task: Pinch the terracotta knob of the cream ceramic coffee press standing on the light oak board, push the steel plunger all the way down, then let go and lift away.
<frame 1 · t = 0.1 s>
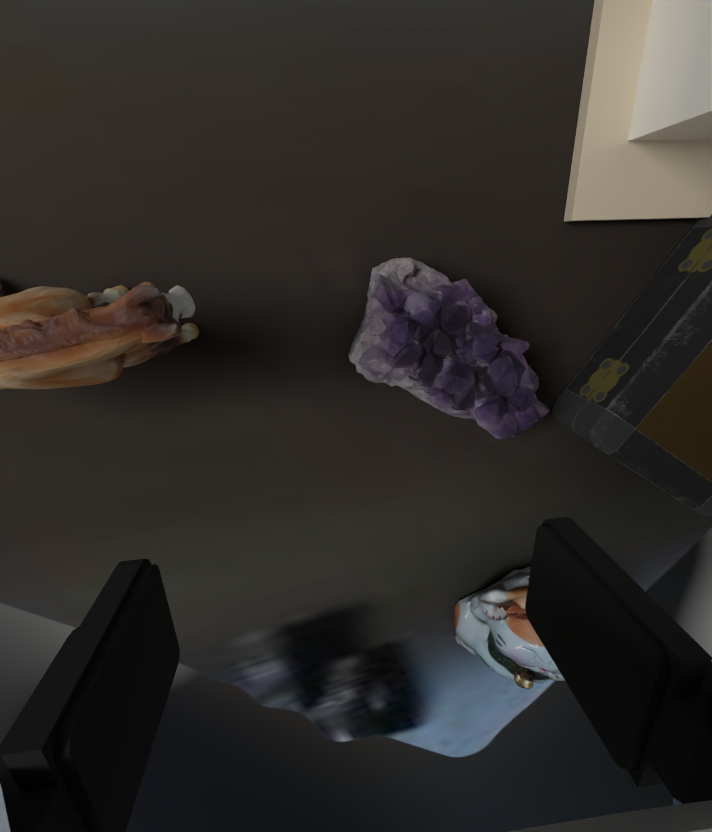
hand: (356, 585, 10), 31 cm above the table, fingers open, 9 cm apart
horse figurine: (51, 273, 35), on the table
coffee press: (685, 74, 35), on the table
lucky cat figurine: (502, 594, 54), on the table
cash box: (680, 361, 45), on the table, touching coffee press
geode: (439, 346, 41), on the table
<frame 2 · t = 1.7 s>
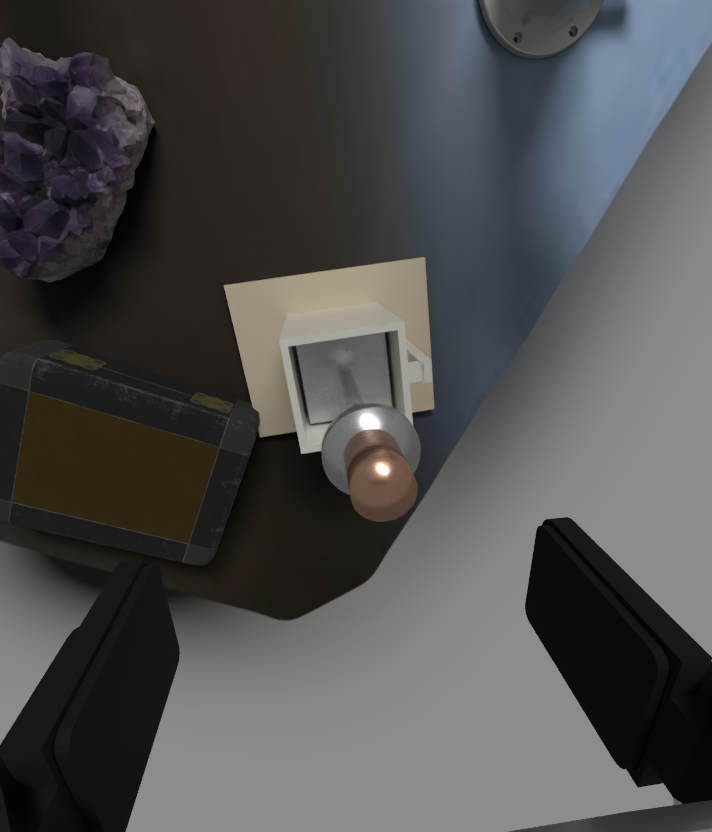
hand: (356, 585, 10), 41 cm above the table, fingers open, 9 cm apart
plunger: (358, 414, 29), point 22 cm above the table, slide at 0.0 cm
coffee press: (337, 350, 49), on the table
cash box: (142, 445, 51), on the table, touching coffee press
geode: (85, 184, 41), on the table
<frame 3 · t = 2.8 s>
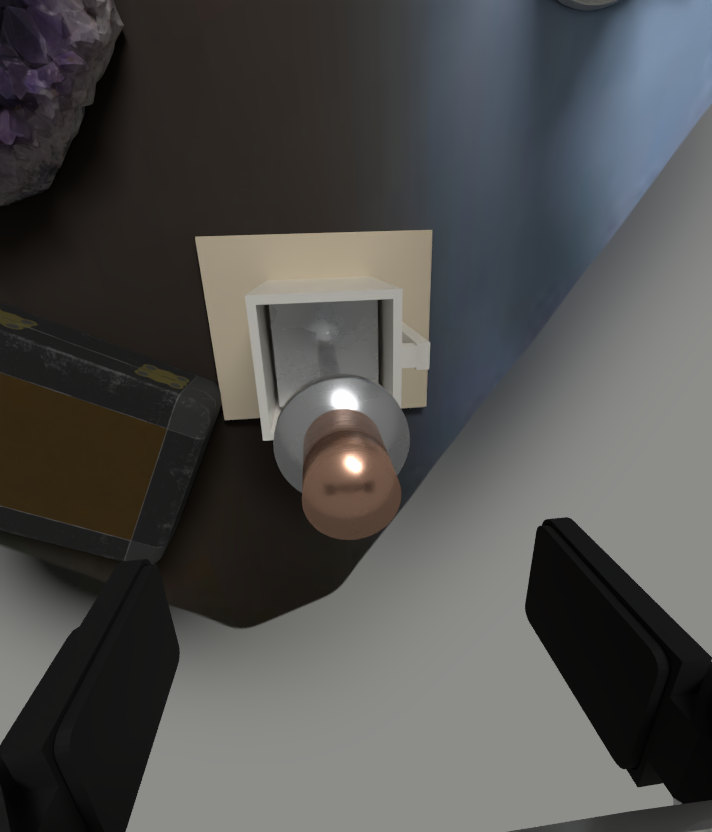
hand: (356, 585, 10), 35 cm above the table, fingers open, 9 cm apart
plunger: (333, 395, 23), point 22 cm above the table, slide at 0.0 cm
coffee press: (322, 328, 43), on the table
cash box: (86, 425, 45), on the table, touching coffee press
geode: (34, 94, 34), on the table
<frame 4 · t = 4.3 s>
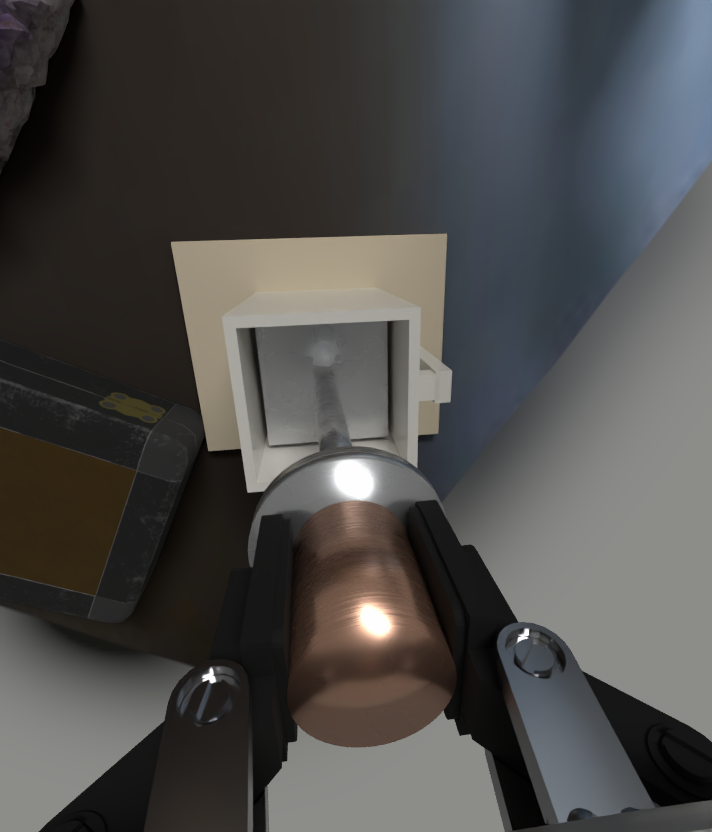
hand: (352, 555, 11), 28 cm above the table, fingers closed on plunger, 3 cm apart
plunger: (336, 450, 17), point 22 cm above the table, slide at 0.0 cm, touching gripper
coffee press: (319, 346, 37), on the table
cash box: (48, 458, 39), on the table
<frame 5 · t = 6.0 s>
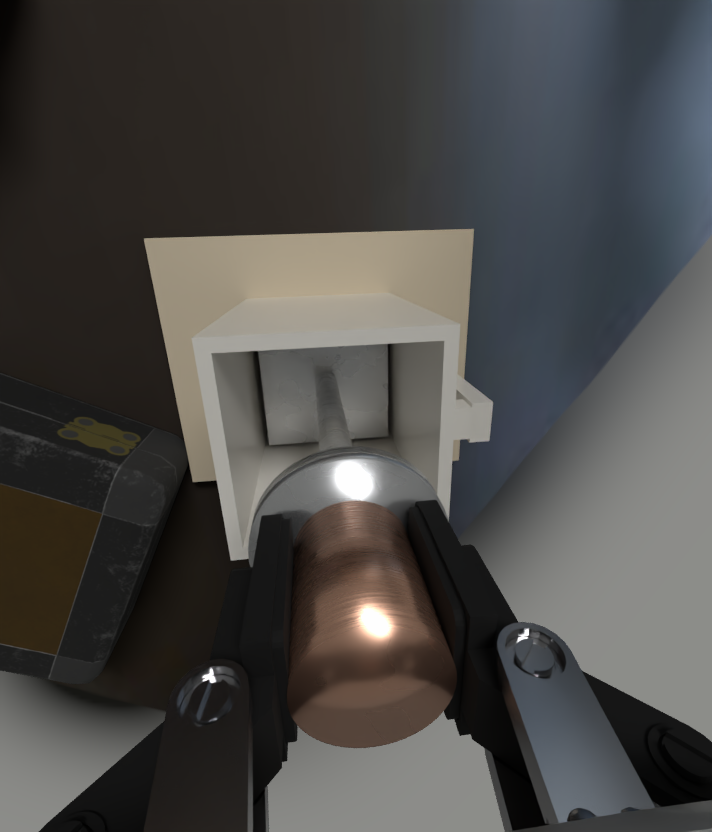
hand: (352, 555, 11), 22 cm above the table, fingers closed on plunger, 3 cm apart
plunger: (336, 450, 17), point 16 cm above the table, slide at 5.8 cm, touching gripper
coffee press: (322, 361, 32), on the table
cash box: (6, 489, 33), on the table
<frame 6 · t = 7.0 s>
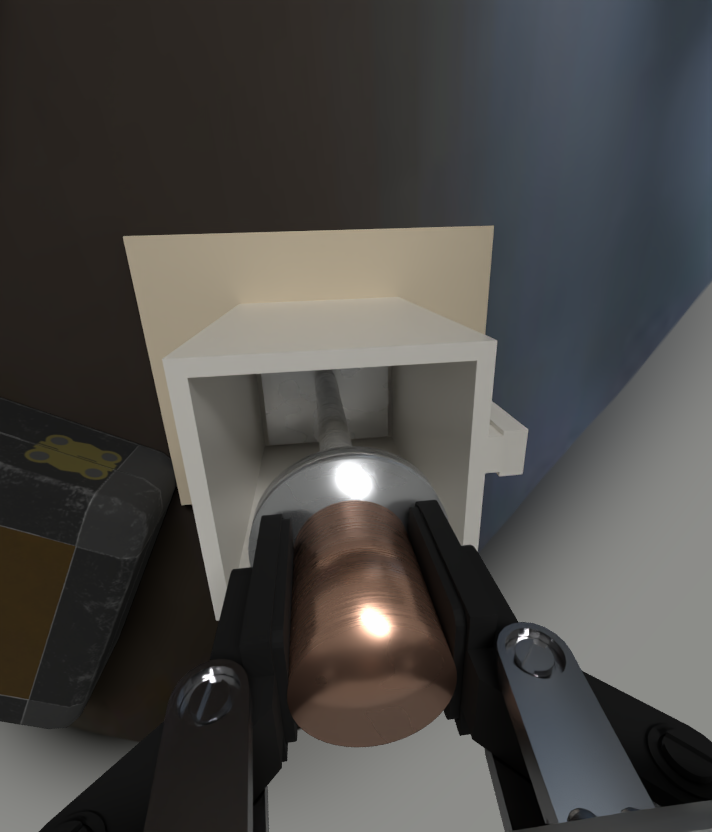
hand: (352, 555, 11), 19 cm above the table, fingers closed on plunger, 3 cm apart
plunger: (336, 450, 17), point 13 cm above the table, slide at 9.1 cm, touching gripper
coffee press: (324, 372, 29), on the table
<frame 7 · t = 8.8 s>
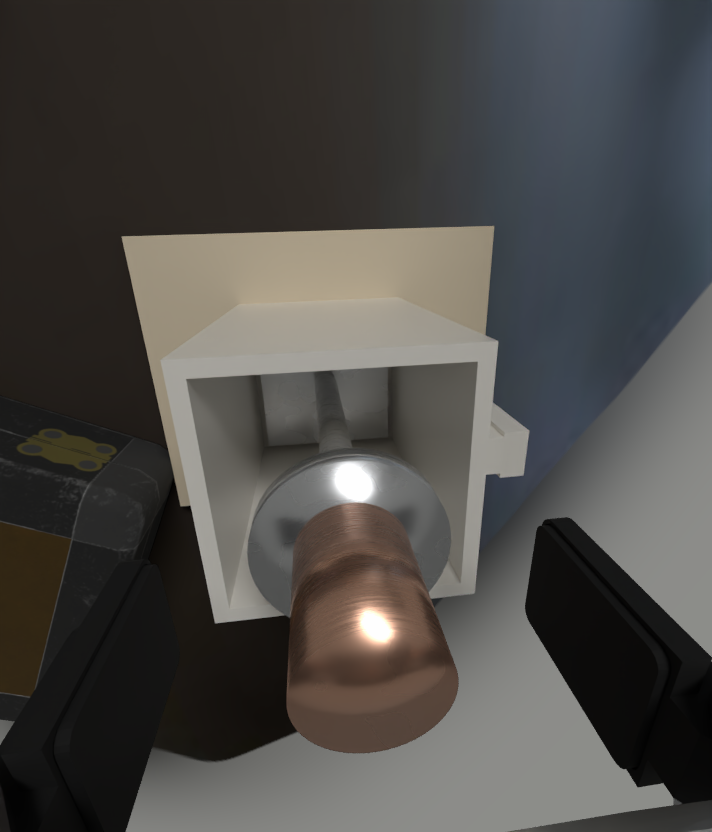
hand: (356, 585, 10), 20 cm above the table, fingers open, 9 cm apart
plunger: (336, 451, 17), point 13 cm above the table, slide at 9.1 cm
coffee press: (324, 372, 29), on the table
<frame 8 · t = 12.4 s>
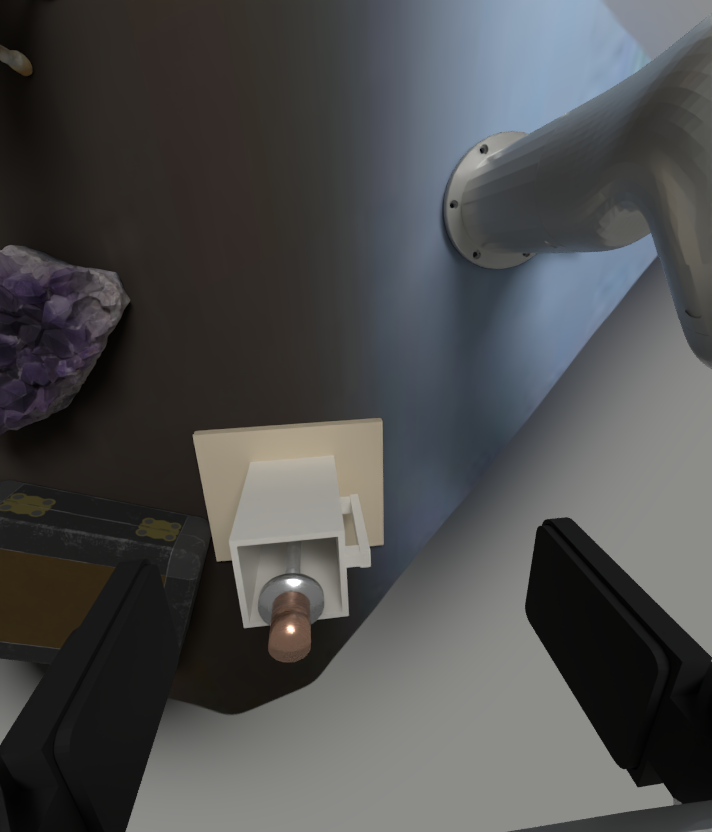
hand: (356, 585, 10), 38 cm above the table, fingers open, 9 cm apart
plunger: (293, 555, 41), point 13 cm above the table, slide at 9.1 cm
coffee press: (296, 489, 53), on the table
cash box: (103, 561, 54), on the table
geode: (59, 341, 44), on the table
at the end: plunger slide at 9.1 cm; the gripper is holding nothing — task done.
